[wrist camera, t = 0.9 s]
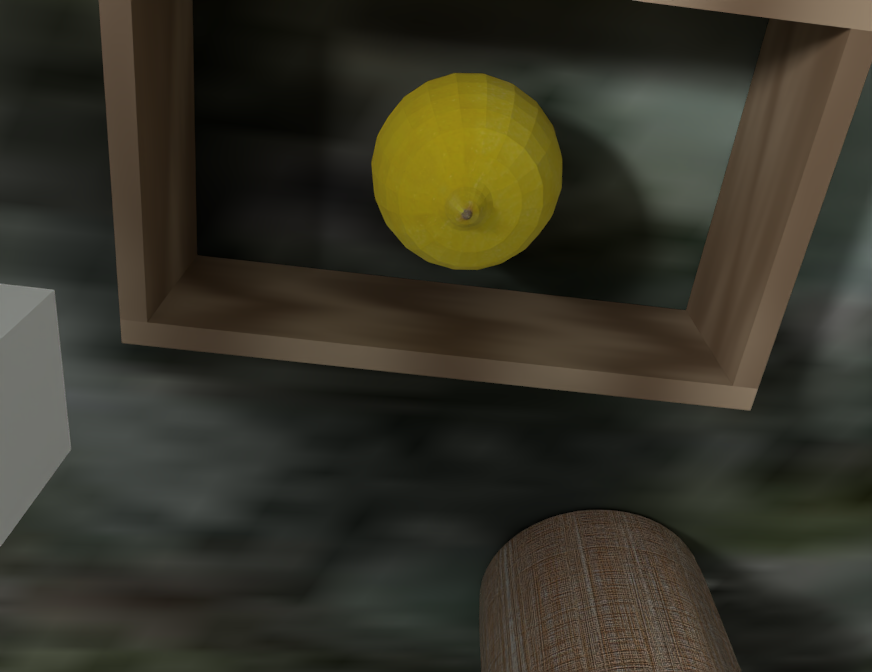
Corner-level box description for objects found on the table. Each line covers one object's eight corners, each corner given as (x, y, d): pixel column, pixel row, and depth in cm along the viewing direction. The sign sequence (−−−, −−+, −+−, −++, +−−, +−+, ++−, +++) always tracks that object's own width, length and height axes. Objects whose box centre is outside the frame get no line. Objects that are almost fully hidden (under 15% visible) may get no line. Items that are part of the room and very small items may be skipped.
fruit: (480, 248, 29) (490, 354, 22) (349, 158, 28) (316, 241, 20) (580, 121, 27) (629, 193, 20) (445, 17, 25) (444, 54, 18)
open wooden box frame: (175, 272, 30) (121, 342, 25) (163, -102, 24) (91, -107, 19) (701, 332, 30) (750, 410, 26) (805, -17, 25) (893, -2, 20)
